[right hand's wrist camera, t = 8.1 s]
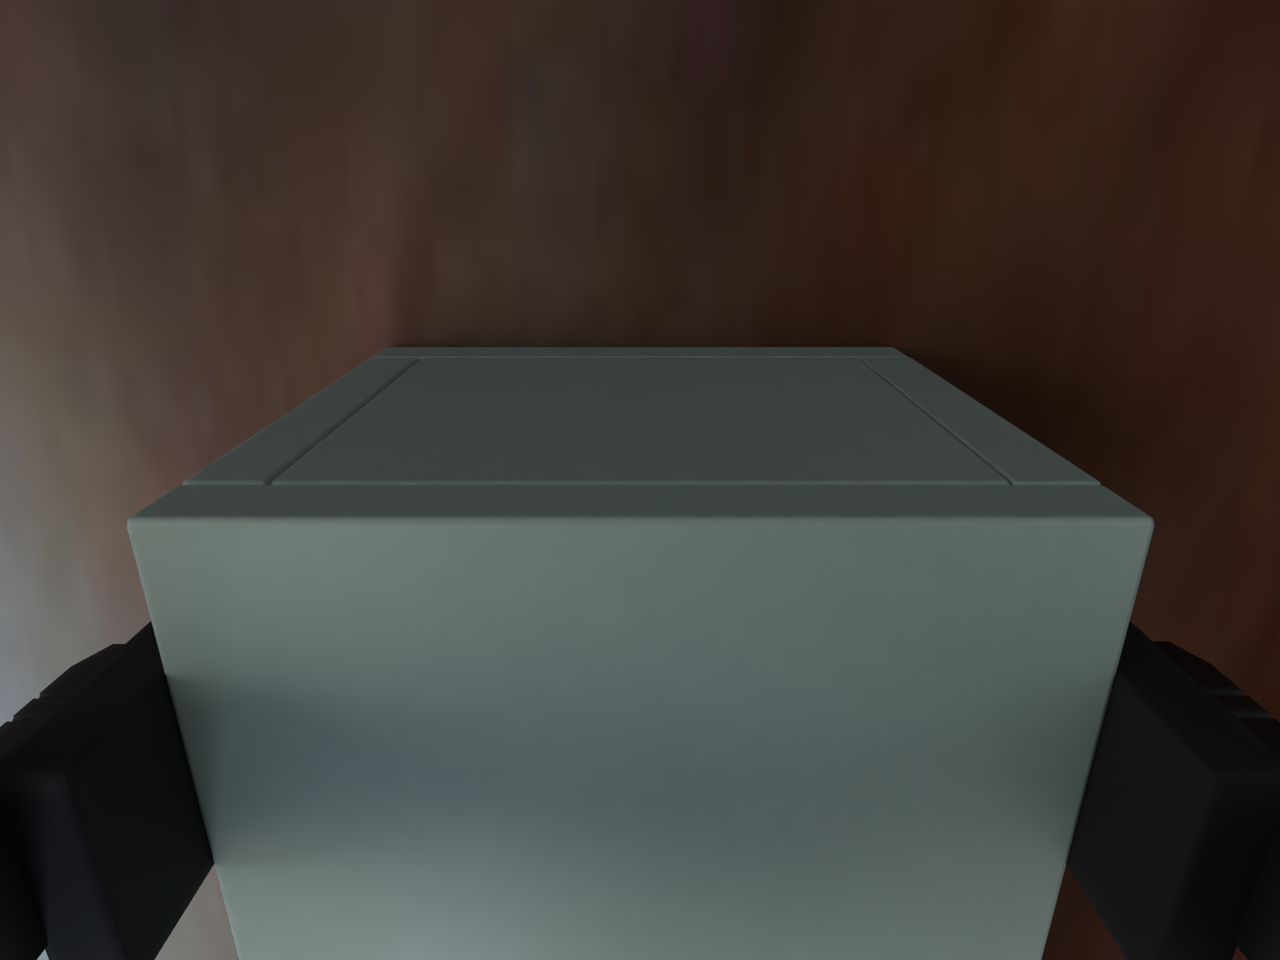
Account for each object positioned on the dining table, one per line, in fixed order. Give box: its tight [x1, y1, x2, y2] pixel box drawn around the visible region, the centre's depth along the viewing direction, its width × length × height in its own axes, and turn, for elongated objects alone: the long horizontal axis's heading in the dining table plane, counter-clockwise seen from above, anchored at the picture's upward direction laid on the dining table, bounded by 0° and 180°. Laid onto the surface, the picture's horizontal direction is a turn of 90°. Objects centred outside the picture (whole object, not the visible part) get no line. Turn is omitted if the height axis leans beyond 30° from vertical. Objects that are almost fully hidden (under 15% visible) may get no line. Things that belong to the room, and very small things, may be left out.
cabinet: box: [127, 347, 1154, 960], centre depth 15 cm, size 21×10×8 cm, turn 0°
